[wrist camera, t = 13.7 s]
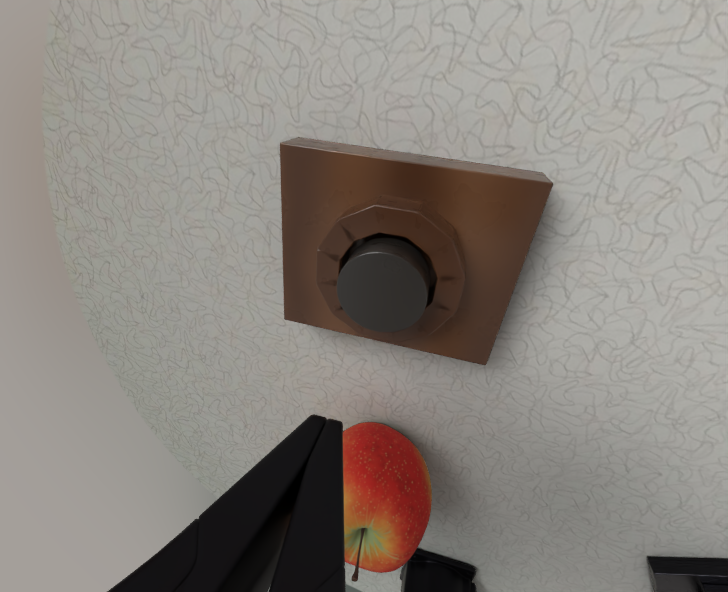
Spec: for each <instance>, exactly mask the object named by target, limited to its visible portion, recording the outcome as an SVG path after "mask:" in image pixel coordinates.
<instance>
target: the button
mask: <svg viewBox="0 0 728 592" xmlns="http://www.w3.org/2000/svg"><path fill="white" fill-rule="evenodd" d="M429 287H430V271H429V267H428V265H427V262H426V260H425V259H424V257H423V256H422V255H421V253H420V252H419V251H418V250H417V249H416V248H414V247H413V246H412V245H410V244H408V243H406V242H404V241H402V240H399V239H395V238H389V237H381V238H375V239H371V240H369V241H367V242H365V243H363V244H361V245H360V246H359V247H358V248H357V249H356V250H355V251H354V252H353V254H352V255H351V257H350V258H349V260H348V261H347V262H346V264H345V265H344V267H343V268H342V270H341V272H340V274H339V276H338V280H337V296H338V299H339V302H340V304H341V306H342V308H343V310H344V311H345V313H346V314H347V315H348V316H349V317H350V318H351V319H352V320H353V321H354V322H356V323H357V324H359V325H360V326H362V327H364V328H367V329H369V330H372V331H376V332H384V333H389V332H397V331H401V330H404V329H406V328H408V327H410V326H411V325H413V324H414V323H415V322H416V321H417V320H418V319H419V318H420V317H421V316H422V314H423V312H424V310H425V308H426V304H427V299H428V293H429Z"/></svg>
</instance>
